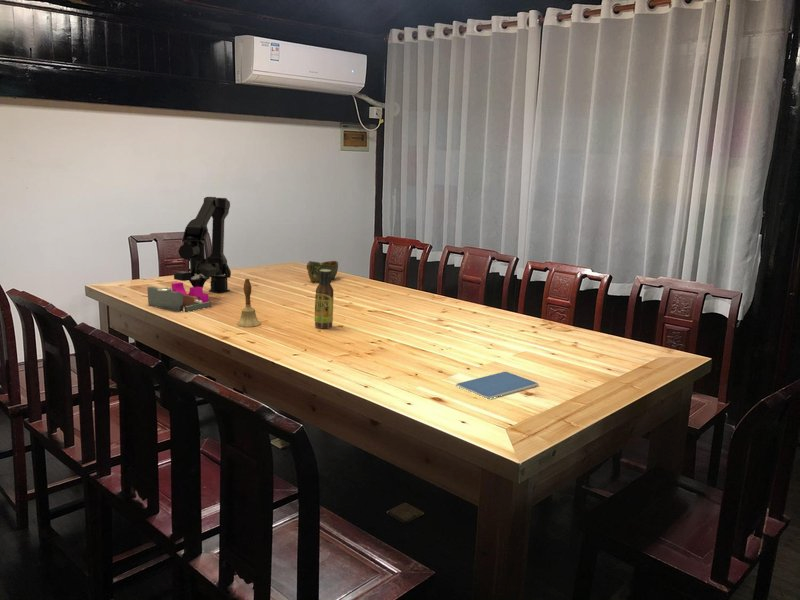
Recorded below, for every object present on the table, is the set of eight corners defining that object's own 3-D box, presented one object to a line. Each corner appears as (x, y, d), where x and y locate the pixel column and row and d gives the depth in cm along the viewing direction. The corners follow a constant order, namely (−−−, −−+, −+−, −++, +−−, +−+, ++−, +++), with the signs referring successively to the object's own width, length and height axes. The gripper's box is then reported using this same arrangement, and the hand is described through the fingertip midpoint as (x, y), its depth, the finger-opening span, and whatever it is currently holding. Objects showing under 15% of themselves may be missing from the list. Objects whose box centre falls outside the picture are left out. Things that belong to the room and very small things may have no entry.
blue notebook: (487, 402, 160) (488, 397, 159) (453, 387, 169) (453, 382, 169) (540, 388, 171) (540, 383, 171) (505, 374, 181) (505, 370, 181)
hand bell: (236, 327, 220) (235, 281, 217) (236, 321, 228) (235, 277, 224) (261, 326, 222) (261, 280, 219) (260, 321, 230) (259, 276, 227)
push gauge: (174, 298, 260) (173, 280, 259) (211, 307, 248) (210, 287, 247) (141, 305, 248) (140, 285, 247) (178, 313, 236) (177, 293, 235)
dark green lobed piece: (296, 279, 309) (296, 258, 307) (334, 277, 320) (334, 256, 318) (308, 284, 299) (308, 262, 297) (346, 281, 310) (347, 260, 307)
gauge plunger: (168, 299, 255) (168, 289, 254) (202, 307, 244) (202, 296, 243) (165, 300, 254) (165, 289, 253) (199, 307, 243) (199, 297, 242)
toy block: (208, 305, 252) (208, 286, 250) (194, 308, 247) (194, 288, 245) (186, 299, 261) (185, 281, 259) (172, 302, 256) (171, 283, 254)
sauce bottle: (311, 327, 223) (311, 270, 218) (320, 323, 228) (320, 267, 224) (327, 330, 220) (328, 272, 216) (336, 326, 226) (337, 269, 222)
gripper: (191, 260, 241) (192, 301, 244) (230, 255, 256) (231, 294, 260) (172, 257, 247) (173, 297, 250) (211, 252, 262) (212, 290, 266)
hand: (198, 295), depth 256 cm, fingers closed
